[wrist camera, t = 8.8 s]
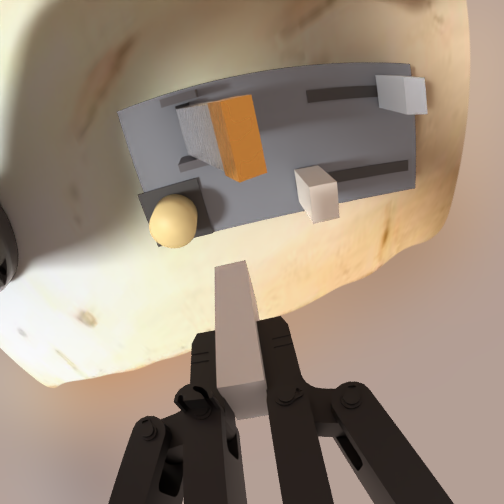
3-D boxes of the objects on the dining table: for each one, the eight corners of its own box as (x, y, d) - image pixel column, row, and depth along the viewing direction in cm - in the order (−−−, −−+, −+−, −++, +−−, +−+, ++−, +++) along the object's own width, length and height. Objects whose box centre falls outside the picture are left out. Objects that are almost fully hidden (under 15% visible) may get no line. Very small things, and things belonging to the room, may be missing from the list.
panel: (163, 229, 27) (154, 259, 23) (123, 110, 20) (100, 117, 16) (399, 177, 27) (428, 197, 22) (391, 63, 20) (425, 64, 16)
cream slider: (298, 201, 23) (313, 223, 20) (294, 169, 22) (309, 187, 19) (321, 196, 23) (339, 217, 20) (318, 165, 22) (336, 181, 19)
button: (162, 238, 24) (158, 252, 22) (148, 201, 22) (142, 212, 20) (202, 228, 24) (202, 242, 22) (190, 189, 22) (187, 199, 20)
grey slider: (379, 107, 20) (406, 114, 16) (375, 75, 18) (403, 76, 15) (398, 106, 19) (427, 114, 16) (395, 75, 18) (424, 77, 15)
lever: (184, 155, 20) (239, 184, 12) (170, 107, 18) (219, 99, 10) (201, 149, 20) (267, 174, 13) (189, 101, 18) (250, 92, 11)
